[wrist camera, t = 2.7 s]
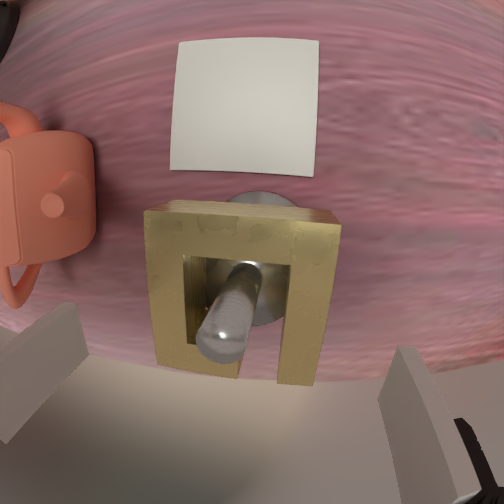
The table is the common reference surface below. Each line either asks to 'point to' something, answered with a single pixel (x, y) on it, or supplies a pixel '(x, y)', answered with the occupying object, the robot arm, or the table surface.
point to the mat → (246, 106)
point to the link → (244, 249)
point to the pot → (41, 198)
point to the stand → (241, 295)
